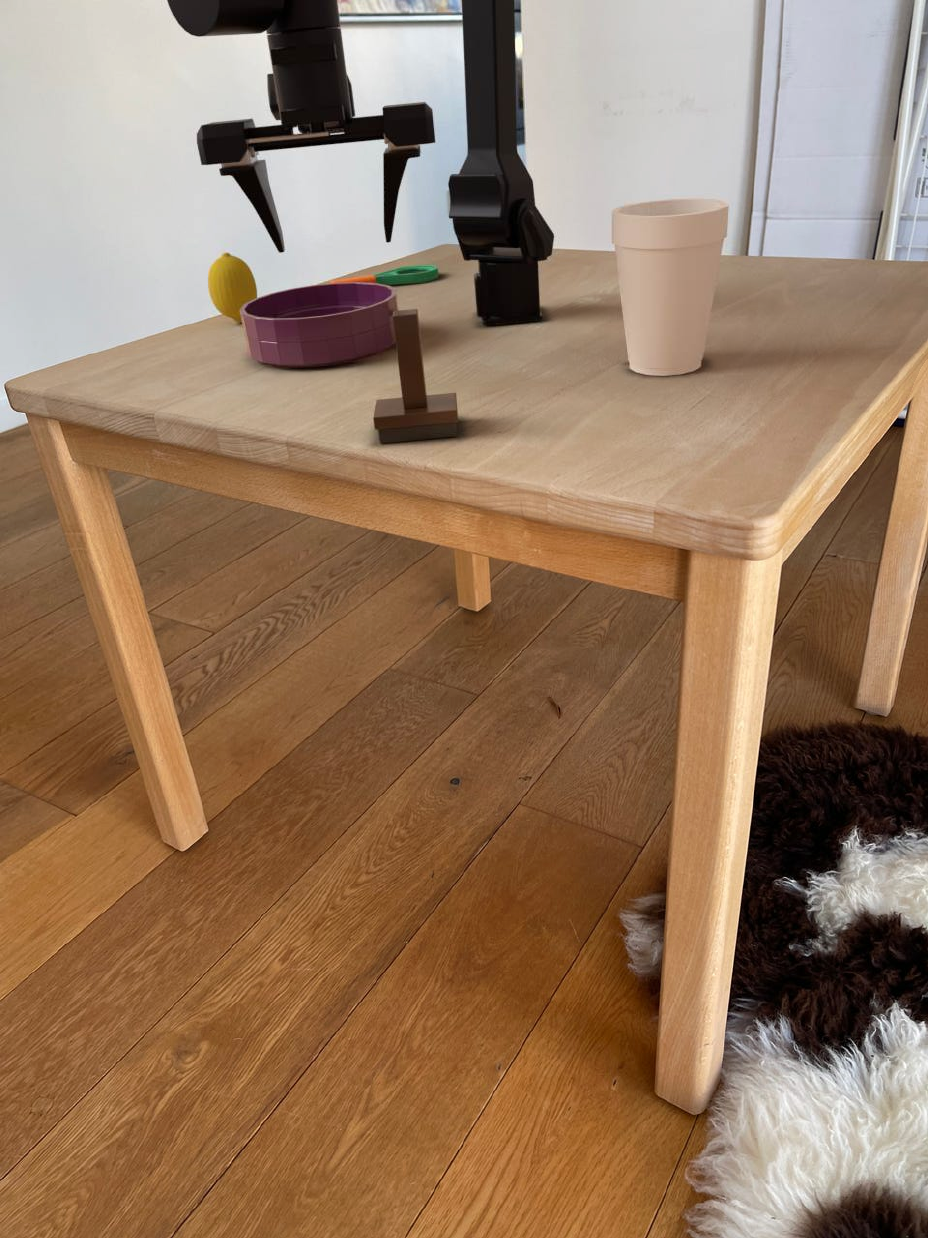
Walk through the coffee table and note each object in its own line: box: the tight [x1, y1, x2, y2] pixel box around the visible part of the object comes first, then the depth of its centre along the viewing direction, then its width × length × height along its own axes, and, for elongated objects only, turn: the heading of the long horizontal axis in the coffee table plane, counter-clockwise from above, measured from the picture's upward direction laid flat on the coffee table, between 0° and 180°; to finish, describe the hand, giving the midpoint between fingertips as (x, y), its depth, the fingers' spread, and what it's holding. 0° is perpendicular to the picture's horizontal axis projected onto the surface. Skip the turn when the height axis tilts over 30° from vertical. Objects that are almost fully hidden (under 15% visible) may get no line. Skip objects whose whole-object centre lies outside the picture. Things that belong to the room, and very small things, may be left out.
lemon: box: [207, 252, 258, 324], centre depth 109 cm, size 6×6×8 cm
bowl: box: [240, 282, 400, 369], centre depth 96 cm, size 16×16×5 cm
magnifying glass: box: [328, 264, 439, 286], centre depth 123 cm, size 15×6×2 cm, turn 118°
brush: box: [373, 308, 459, 444], centre depth 70 cm, size 6×4×9 cm
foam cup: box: [611, 198, 730, 377], centre depth 79 cm, size 10×9×13 cm
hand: (335, 246), depth 79 cm, fingers open, 9 cm apart
